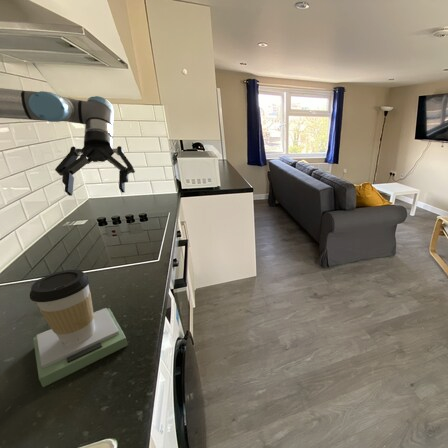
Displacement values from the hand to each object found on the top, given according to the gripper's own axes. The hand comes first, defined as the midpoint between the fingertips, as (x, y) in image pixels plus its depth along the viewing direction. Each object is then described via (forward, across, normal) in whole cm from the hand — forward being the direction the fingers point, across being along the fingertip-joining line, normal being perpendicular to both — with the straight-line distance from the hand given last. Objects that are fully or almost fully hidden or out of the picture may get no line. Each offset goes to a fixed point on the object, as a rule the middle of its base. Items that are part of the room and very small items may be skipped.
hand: (95, 191), depth 79 cm
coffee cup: (+42, 0, +4) cm, 42 cm away
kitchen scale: (+44, 0, +2) cm, 44 cm away
